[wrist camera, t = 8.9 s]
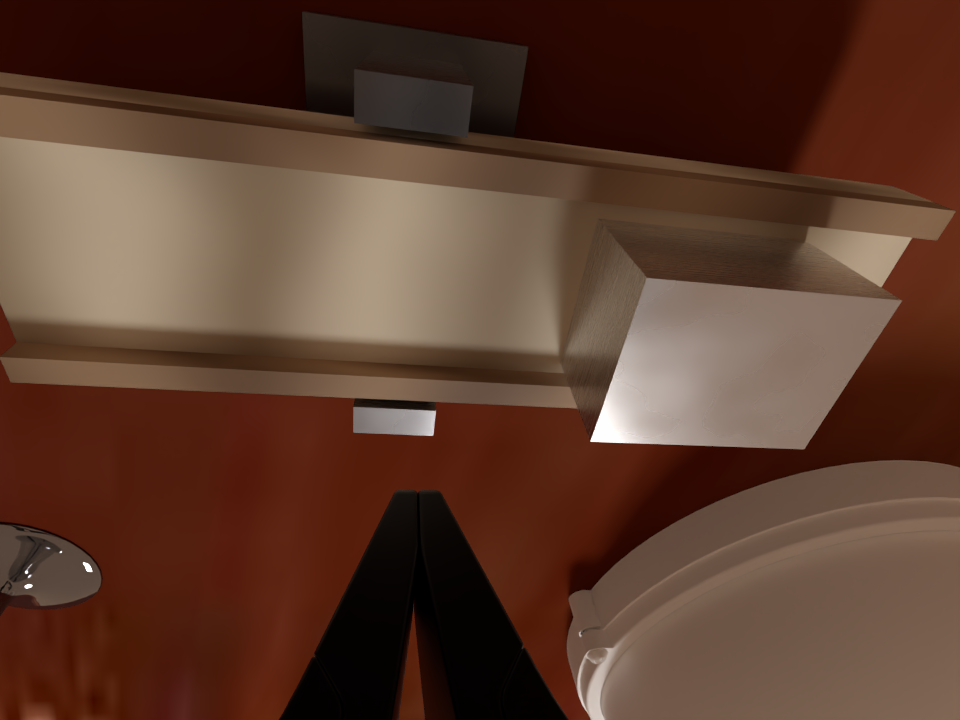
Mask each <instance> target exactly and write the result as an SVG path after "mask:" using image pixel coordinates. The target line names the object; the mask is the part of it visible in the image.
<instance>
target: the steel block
mask: <svg viewBox="0 0 960 720" xmlns="http://www.w3.org/2000/svg"><path fill="white" fill-rule="evenodd" d="M901 302H902V300H900V299H899V298H897V297H896V296H894V295H892V294H891V293H889V292H887V291H886V290H884V289H883V288H881V287H879V286H878V285H876V284H875V283H873V282H871V281H870V280H868V279H867V278H865V277H863V276H862V275H860V274H859V273H857V272H855V271H854V270H852V269H851V268H849V267H847V266H846V265H844V264H843V263H841V262H839V261H838V260H836V259H835V258H833V257H831V256H830V255H828V254H826V253H825V252H823V251H822V250H820V249H818V248H817V247H815V246H814V245H812V244H810V243H809V242H807V241H805V240H796V239H786V238H777V237H768V236H758V235H749V234H739V233H730V232H721V231H711V230H702V229H692V228H683V227H674V226H664V225H655V224H645V223H636V222H626V221H617V220H608V219H598V222H597V225H596V229H595V233H594V236H593V240H592V244H591V248H590V251H589V255H588V259H587V263H586V266H585V270H584V274H583V277H582V281H581V285H580V289H579V292H578V296H577V300H576V303H575V307H574V311H573V315H572V318H571V322H570V326H569V329H568V333H567V337H566V341H565V344H564V348H563V352H562V355H561V359H560V364H561V367H562V369H563V372H564V374H565V377H566V379H567V382H568V385H569V387H570V390H571V392H572V395H573V398H574V400H575V403H576V405H577V408H578V410H579V413H580V416H581V418H582V421H583V423H584V426H585V428H586V431H587V434H588V436H589V439H590V441H591V442H615V443H643V444H670V445H698V446H725V447H753V448H781V449H805V447H806V446H807V444H808V443H809V441H810V440H811V438H812V437H813V435H814V434H815V432H816V431H817V429H818V427H819V426H820V424H821V423H822V421H823V420H824V418H825V417H826V415H827V414H828V412H829V411H830V409H831V408H832V406H833V405H834V403H835V402H836V400H837V399H838V397H839V396H840V394H841V393H842V391H843V390H844V388H845V387H846V385H847V383H848V382H849V380H850V379H851V377H852V376H853V374H854V373H855V371H856V370H857V368H858V367H859V365H860V364H861V362H862V361H863V359H864V358H865V356H866V355H867V353H868V352H869V350H870V349H871V347H872V346H873V344H874V343H875V341H876V340H877V338H878V336H879V335H880V333H881V332H882V330H883V329H884V327H885V326H886V324H887V323H888V321H889V320H890V318H891V317H892V315H893V314H894V312H895V311H896V309H897V308H898V306H899V305H900V303H901Z"/></svg>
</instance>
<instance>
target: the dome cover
mask: <svg viewBox="0 0 960 720" xmlns="http://www.w3.org/2000/svg"><path fill="white" fill-rule="evenodd" d="M568 600H569V604H570V607H571V610H572V614H573V617H574V618H573V620H572V623H571V626H570V629H569V633H568V638H567V654H568V660H569V664H570V667H571V671H572V674H573V678H574V681H575V685H576V688H577V692H578V695H579V698H580V701H581V703H582V705H583V707H584V708H585V710H586V711H587V713H588V714H589V717H590V719H591V720H960V467H956V466H952V465H948V464H942V463H935V462H928V461H911V460H889V461H871V462H860V463H851V464H845V465H839V466H832V467H826V468H821V469H817V470H812V471H808V472H803V473H799V474H795V475H792V476H788V477H784V478H781V479H777V480H774V481H770V482H768V483H765V484H762V485H759V486H756V487H753V488H750V489H747V490H744V491H742V492H739V493H737V494H734V495H732V496H729V497H727V498H724V499H722V500H719V501H717V502H715V503H713V504H711V505H709V506H706V507H704V508H702V509H700V510H698V511H696V512H694V513H692V514H690V515H688V516H686V517H684V518H683V519H681V520H679V521H677V522H675V523H673V524H671V525H670V526H668V527H667V528H665V529H663V530H662V531H660V532H658V533H657V534H655V535H654V536H652V537H650V538H649V539H648V540H646V541H645V542H643V543H642V544H641V545H639V546H638V547H636V548H635V549H634V550H632V551H631V552H630V553H628V554H627V555H626V556H625V557H624V558H622V559H621V560H620V561H619V562H617V563H616V564H615V565H614V566H613V567H612V568H611V569H610V570H609V571H608V572H607V573H606V574H605V575H604V576H603V577H602V578H601V579H600V580H599V581H598V582H597V583H596V585H595V586H594V587H593V588H592V589H591V590H581V591H577V592H575V593H573V594H572V595H571V596H570V597H569V599H568Z"/></svg>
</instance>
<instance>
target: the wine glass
mask: <svg viewBox="0 0 960 720" xmlns="http://www.w3.org/2000/svg"><path fill="white" fill-rule="evenodd" d="M101 585H102V574H101V570H100V568H99V567H98V565H97V563H96V562H95V561H94V560H93V558H92V557H91V556H90V555H89V554H87V553H86V552H85V551H84V550H83V549H81V548H80V547H78V546H76V545H75V544H73V543H72V542H70V541H68V540H66V539H64V538H61V537H59V536H57V535H54V534H51V533H49V532H46V531H43V530H39V529H35V528H32V527H27V526H21V525H15V524H5V523H0V616H1V614H2V613H3V611H4V610H5V609H6V608H7V606H11V607H17V608H24V609H36V610H50V609H61V608H67V607H71V606H75V605H78V604H80V603H83V602H85V601H87V600H88V599H90V598H91V597H93V596H94V595H95V594H96V593H97V592H98V591H99V589H100V587H101Z"/></svg>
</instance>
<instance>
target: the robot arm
mask: <svg viewBox="0 0 960 720" xmlns="http://www.w3.org/2000/svg"><path fill="white" fill-rule="evenodd" d="M413 604H414V614H415V626H416V636H417V646H418V655H419V665H420V675H421V685H422V694H423V704H424V714H425V720H568V718H567V716H566V715H565V713H564V712H563V710H562V709H561V707H560V706H559V704H558V703H557V701H556V700H555V698H554V697H553V695H552V693H551V691H550V690H549V688H548V686H547V685H546V683H545V681H544V679H543V678H542V676H541V674H540V673H539V671H538V669H537V667H536V666H535V664H534V662H533V660H532V658H531V656H530V655H529V653H528V651H527V649H526V648H523V642H522V640H521V639H520V637H519V635H518V633H517V631H516V629H515V628H514V626H513V624H512V622H511V620H510V618H509V617H508V615H507V613H506V611H505V609H504V607H503V605H502V604H501V602H500V600H499V598H498V596H497V594H496V593H495V591H494V589H493V587H492V585H491V583H490V582H489V580H488V578H487V576H486V574H485V572H484V571H483V569H482V567H481V565H480V563H479V561H478V560H477V558H476V556H475V554H474V552H473V550H472V549H471V547H470V545H469V543H468V541H467V539H466V538H465V536H464V534H463V532H462V530H461V528H460V527H459V525H458V523H457V521H456V519H455V517H454V516H453V514H452V512H451V510H450V508H449V506H448V505H447V503H446V501H445V499H444V497H443V495H442V494H441V493H440V492H439V491H437V490H421V491H419V492H418V494H417V492H416V491H414V490H398V491H396V492H395V493H394V495H393V497H392V499H391V501H390V503H389V505H388V507H387V509H386V511H385V513H384V515H383V517H382V519H381V521H380V523H379V525H378V527H377V529H376V531H375V533H374V535H373V537H372V539H371V541H370V543H369V545H368V547H367V549H366V551H365V553H364V555H363V557H362V559H361V561H360V563H359V565H358V567H357V569H356V571H355V573H354V575H353V577H352V579H351V581H350V583H349V585H348V587H347V589H346V591H345V593H344V595H343V597H342V599H341V601H340V603H339V605H338V607H337V609H336V611H335V613H334V615H333V617H332V619H331V621H330V623H329V625H328V627H327V629H326V631H325V633H324V635H323V637H322V639H321V641H320V643H319V645H318V647H317V649H316V651H315V653H314V657H313V658H312V659H311V660H310V662H309V664H308V666H307V668H306V670H305V672H304V674H303V676H302V678H301V680H300V682H299V684H298V686H297V688H296V690H295V691H294V693H293V695H292V697H291V699H290V701H289V703H288V705H287V706H286V708H285V710H284V712H283V714H282V716H281V717H280V719H279V720H399V712H400V705H401V697H402V690H403V683H404V675H405V668H406V660H407V653H408V645H409V638H410V631H411V623H412V614H413Z"/></svg>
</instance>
